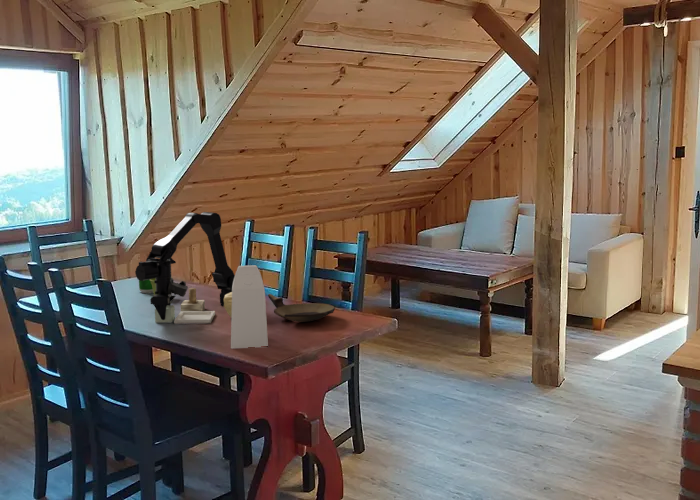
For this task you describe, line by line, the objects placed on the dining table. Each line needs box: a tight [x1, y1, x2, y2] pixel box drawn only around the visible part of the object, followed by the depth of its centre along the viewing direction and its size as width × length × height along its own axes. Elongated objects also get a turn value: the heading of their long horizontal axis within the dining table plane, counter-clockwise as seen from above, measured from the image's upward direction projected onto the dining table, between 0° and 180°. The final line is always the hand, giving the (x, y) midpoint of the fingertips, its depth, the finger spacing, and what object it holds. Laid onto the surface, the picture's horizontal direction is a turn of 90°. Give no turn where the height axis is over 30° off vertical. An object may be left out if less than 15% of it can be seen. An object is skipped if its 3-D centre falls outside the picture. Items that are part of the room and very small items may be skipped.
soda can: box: [138, 279, 154, 294], centre depth 307 cm, size 8×8×12 cm
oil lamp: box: [267, 293, 336, 323], centre depth 261 cm, size 22×30×8 cm
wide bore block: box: [180, 299, 206, 312], centre depth 273 cm, size 8×8×4 cm
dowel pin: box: [188, 287, 197, 304], centre depth 272 cm, size 3×3×9 cm
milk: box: [230, 264, 269, 350], centre depth 228 cm, size 12×12×26 cm
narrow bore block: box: [154, 304, 176, 323], centre depth 258 cm, size 6×6×5 cm
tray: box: [173, 310, 216, 325], centre depth 260 cm, size 13×13×2 cm
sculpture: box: [223, 292, 232, 319], centre depth 263 cm, size 12×12×11 cm
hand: (165, 317), depth 259 cm, fingers closed on narrow bore block, 6 cm apart
